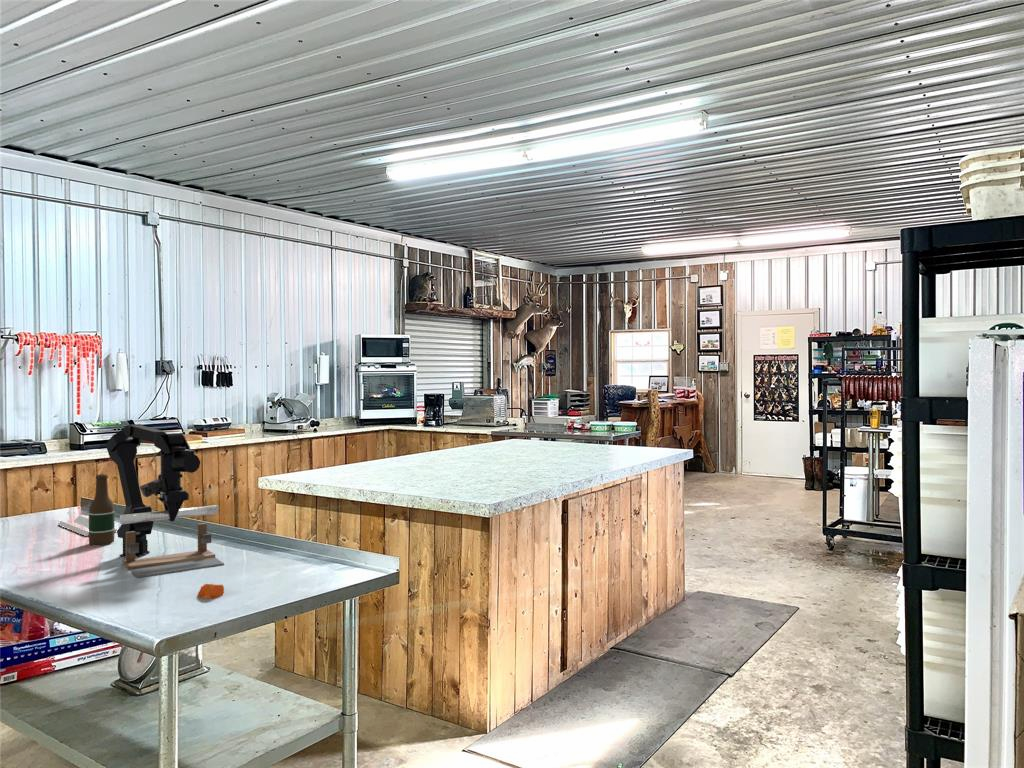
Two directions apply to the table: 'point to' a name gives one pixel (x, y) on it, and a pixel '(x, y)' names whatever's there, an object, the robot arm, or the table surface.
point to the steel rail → (165, 515)
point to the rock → (211, 591)
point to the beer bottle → (101, 514)
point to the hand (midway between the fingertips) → (170, 520)
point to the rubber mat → (176, 567)
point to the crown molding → (81, 521)
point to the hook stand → (167, 559)
